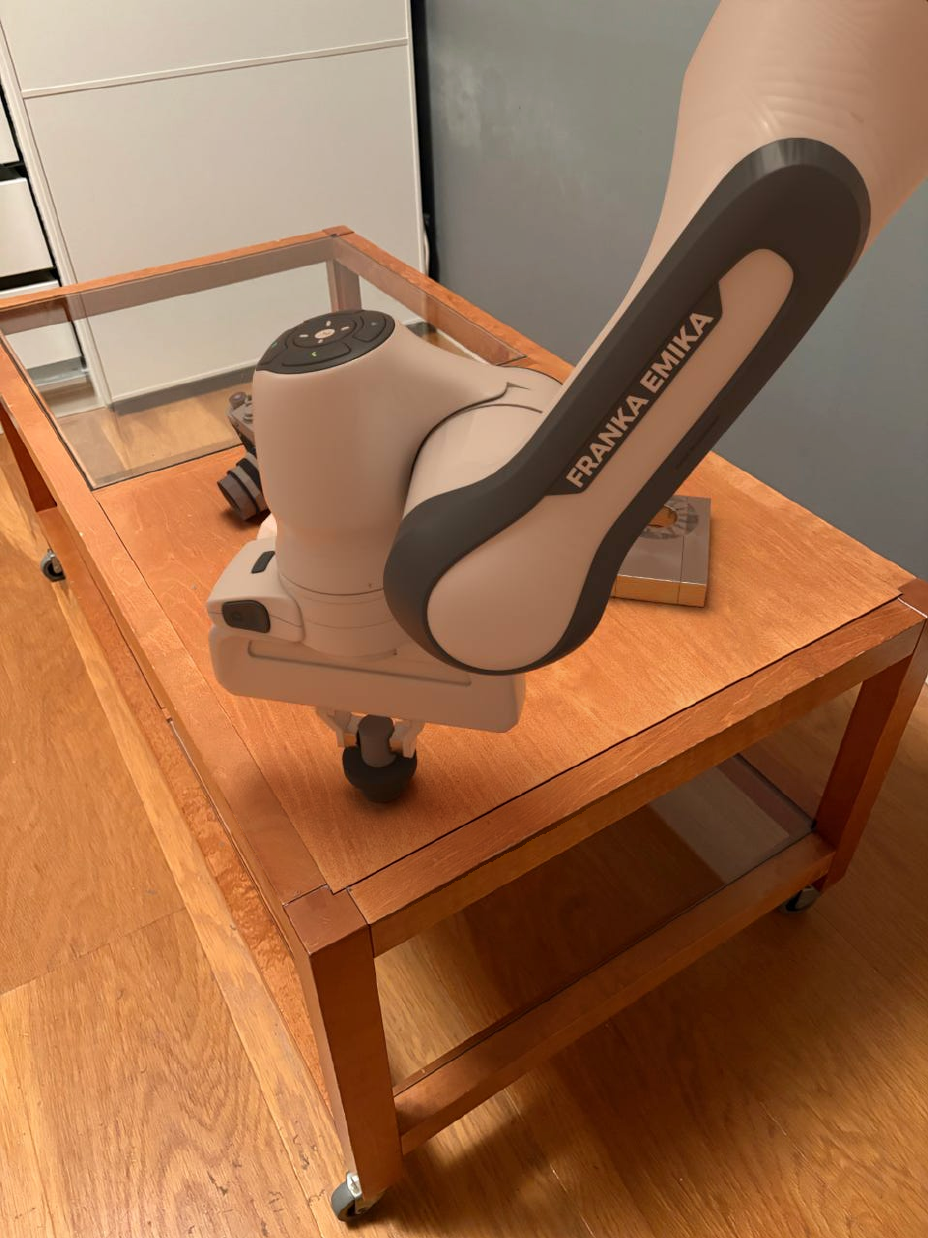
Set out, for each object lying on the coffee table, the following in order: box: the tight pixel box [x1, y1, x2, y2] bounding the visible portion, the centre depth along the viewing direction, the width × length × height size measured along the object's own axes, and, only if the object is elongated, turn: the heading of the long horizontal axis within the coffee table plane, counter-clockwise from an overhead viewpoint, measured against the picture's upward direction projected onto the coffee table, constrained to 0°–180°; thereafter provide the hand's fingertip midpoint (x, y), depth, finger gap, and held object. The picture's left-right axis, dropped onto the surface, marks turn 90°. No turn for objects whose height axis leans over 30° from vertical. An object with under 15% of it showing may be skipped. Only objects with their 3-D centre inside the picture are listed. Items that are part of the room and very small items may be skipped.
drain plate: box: [609, 494, 712, 608], centre depth 88 cm, size 14×14×2 cm
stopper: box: [341, 714, 418, 803], centre depth 66 cm, size 5×5×6 cm
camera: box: [216, 390, 269, 521], centre depth 94 cm, size 16×9×10 cm, turn 37°
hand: (377, 745), depth 65 cm, fingers closed on stopper, 2 cm apart
